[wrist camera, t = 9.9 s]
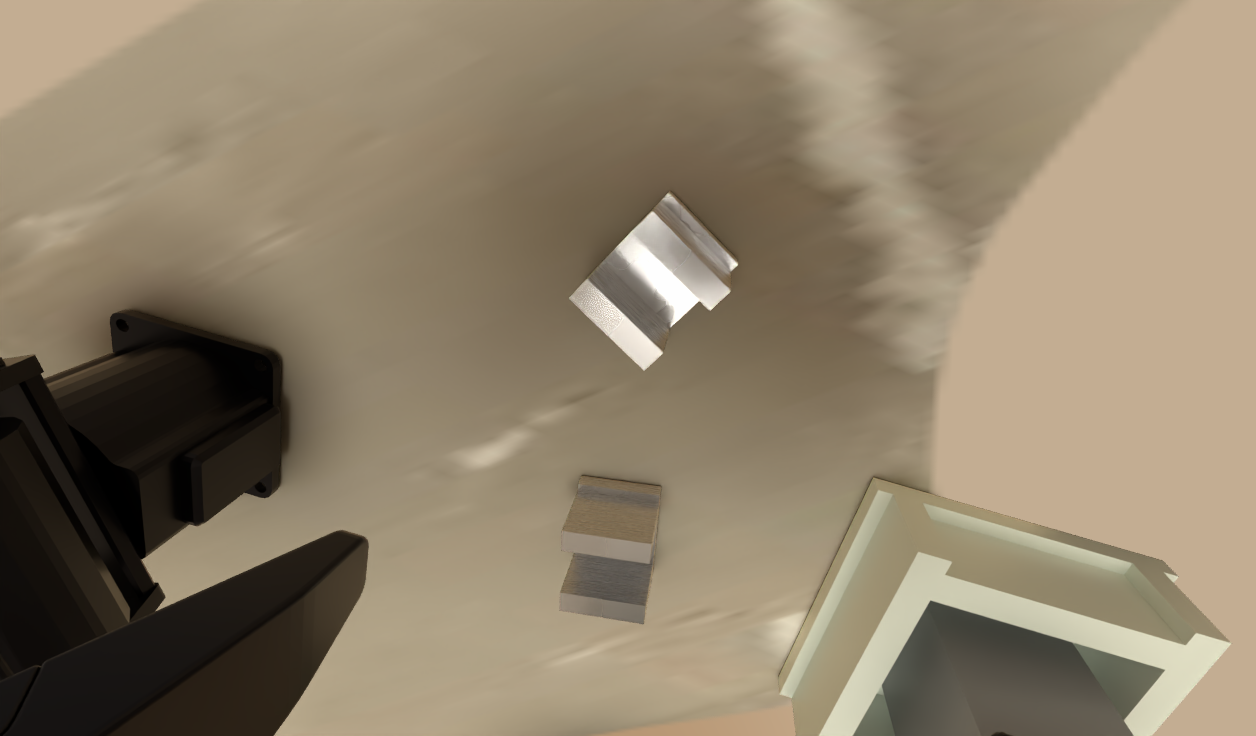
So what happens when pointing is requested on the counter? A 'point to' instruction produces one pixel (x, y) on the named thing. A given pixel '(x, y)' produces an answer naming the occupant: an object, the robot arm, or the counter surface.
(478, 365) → the counter surface
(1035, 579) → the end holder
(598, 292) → the clip
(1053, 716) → the grey square bottle
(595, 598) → the clip
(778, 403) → the counter surface
